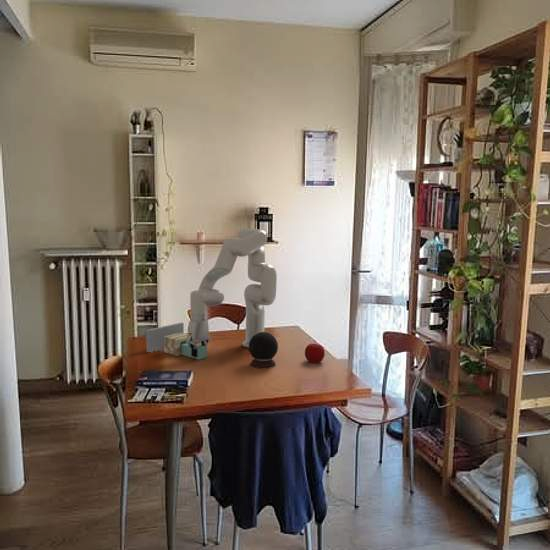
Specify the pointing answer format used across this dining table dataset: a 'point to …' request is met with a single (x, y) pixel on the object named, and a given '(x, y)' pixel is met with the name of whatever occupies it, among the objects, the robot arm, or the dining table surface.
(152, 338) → the wall
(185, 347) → the peg
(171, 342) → the block
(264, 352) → the snow globe
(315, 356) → the apple
